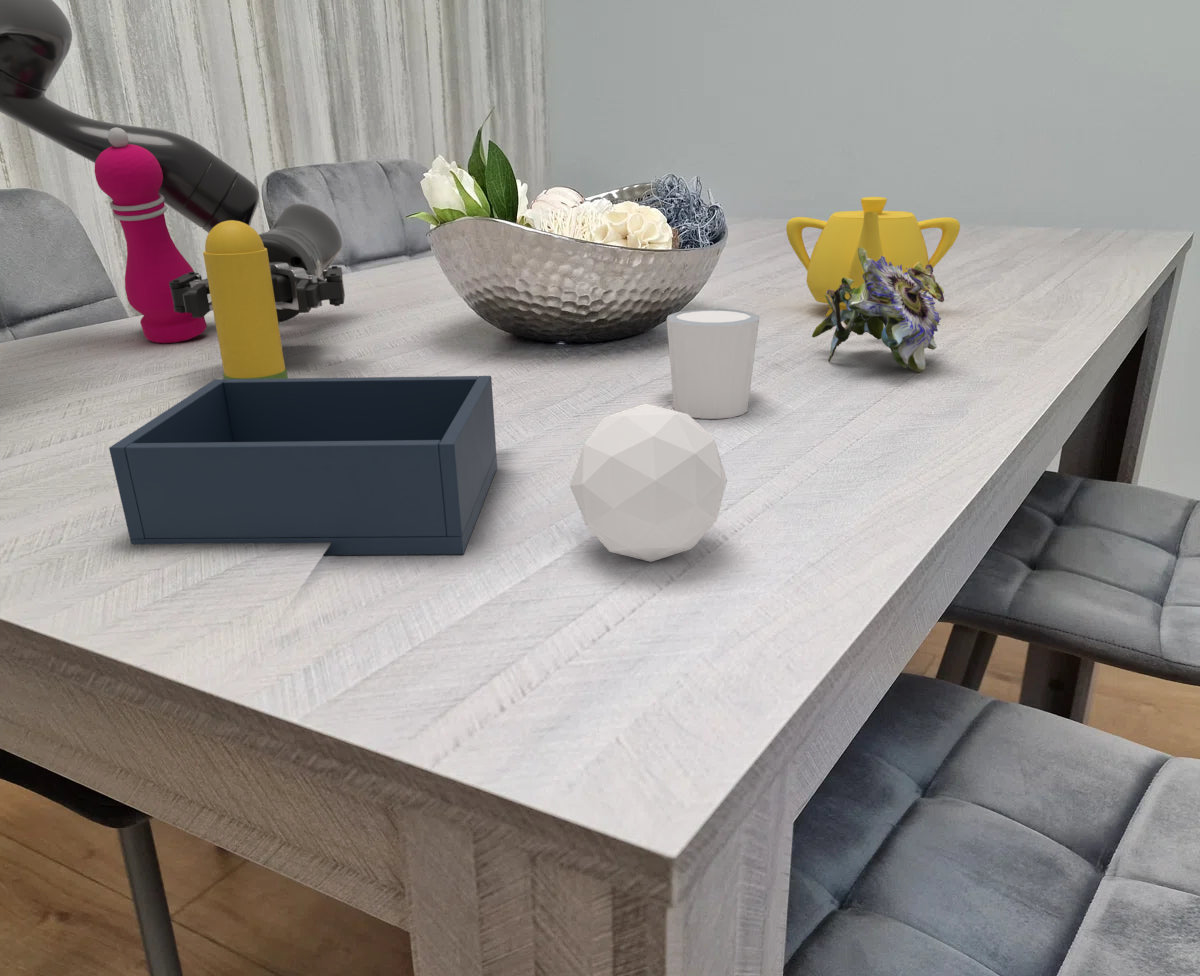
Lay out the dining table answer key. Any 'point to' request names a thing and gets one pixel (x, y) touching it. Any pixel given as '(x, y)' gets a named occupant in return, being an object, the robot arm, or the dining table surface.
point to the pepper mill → (145, 238)
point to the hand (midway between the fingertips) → (248, 302)
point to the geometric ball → (649, 482)
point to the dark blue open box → (314, 464)
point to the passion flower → (888, 309)
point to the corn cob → (243, 302)
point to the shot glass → (712, 361)
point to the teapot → (865, 244)
